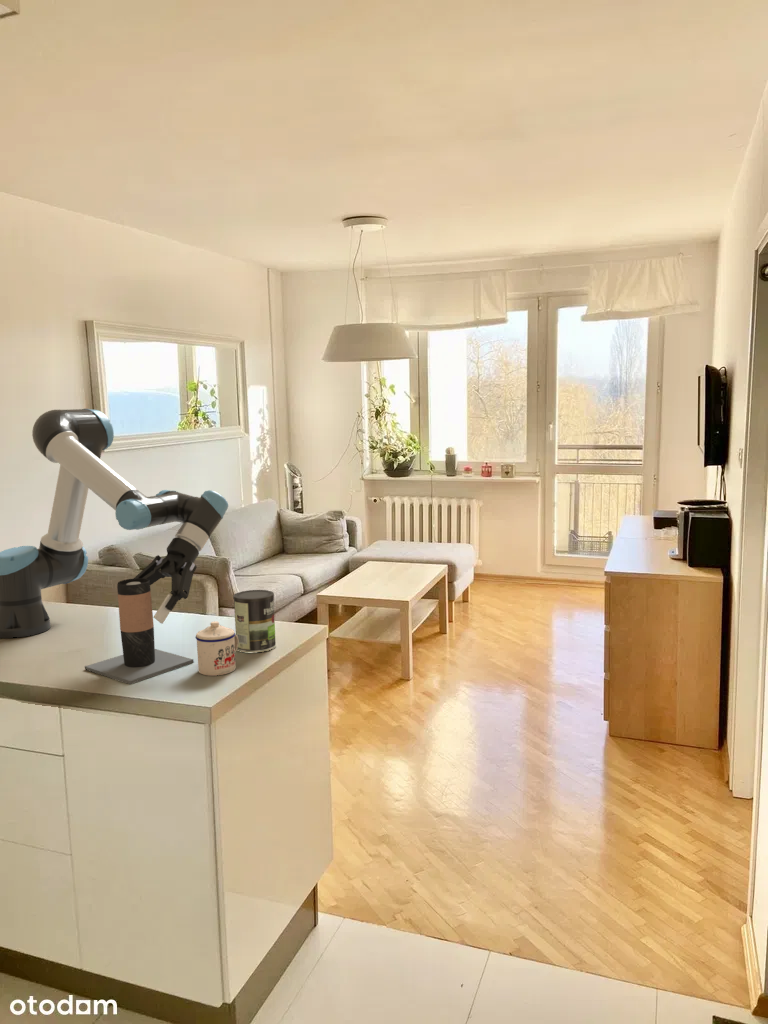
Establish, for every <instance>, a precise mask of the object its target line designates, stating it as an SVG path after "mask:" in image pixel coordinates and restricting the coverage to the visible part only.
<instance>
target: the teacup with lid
mask: <svg viewBox="0 0 768 1024" xmlns="http://www.w3.org/2000/svg"><path fill="white" fill-rule="evenodd" d="M195 639H196V650H197V668H198V672H199V674H201V675H204V676H209V677H210V676H211V677H215V676H216V677H217V675H218V676H222V675H227V674H231V673H232V672H234V671H235V670H236V664H237V663H236V651H237V648H238V644H239V639H238V636H237V635H236V632H235V631H234V629H232V628H230V627H225V626H223V625H222V624H221V625H220V622H219V621H215V620H214V621H211V622H210V623H209V626H207V627H205V628H203V629H201V630H199V631H197V633H196V634H195Z"/></svg>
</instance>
